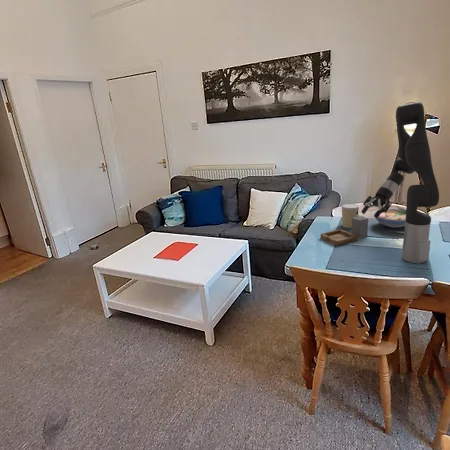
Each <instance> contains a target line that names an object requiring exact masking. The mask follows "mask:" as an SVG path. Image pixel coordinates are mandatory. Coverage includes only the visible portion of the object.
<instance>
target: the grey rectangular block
mask: <svg viewBox="0 0 450 450" xmlns="http://www.w3.org/2000/svg"><path fill="white" fill-rule="evenodd" d="M368 230H369V218H367V217H365V216H363V215H360V214H358V215H357V217H354V218H352V228H351V234H354V235H356V236H358V240H359V239H363V238H366V237H368Z"/></svg>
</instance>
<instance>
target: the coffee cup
mask: <svg viewBox="0 0 450 450" xmlns="http://www.w3.org/2000/svg"><path fill="white" fill-rule="evenodd" d="M359 209H360V206H359V205H358V204H356V203H345V204H343V205H341V223H342V227H343V228H347V229H352V218H354V217H357V215H359Z"/></svg>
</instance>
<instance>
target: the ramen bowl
mask: <svg viewBox="0 0 450 450" xmlns="http://www.w3.org/2000/svg"><path fill="white" fill-rule="evenodd" d="M378 210H379V208H378V209H374V211H373V212H372V214H373V216H374V215H375V213H376V212H377V211H378ZM375 220H377V222H378V223H380V224H381V225H383V226H385V227H386V226H387V227H388V228H392V229H399V228H400V229H401V228H402V227H404V228H405V221H406V208H402V207H400V206H398V205H396V206H395V207H390V208H389V209H388V211H387V212H386V213H385V212H383V213H381V214H380V216H379V217H377V218H375Z"/></svg>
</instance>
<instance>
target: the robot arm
mask: <svg viewBox="0 0 450 450" xmlns="http://www.w3.org/2000/svg"><path fill="white" fill-rule="evenodd" d="M425 115H426V114H425V107H424V105H423V103H422V102H420V101H417V102H416V101H415V102H411V103H406V104H401V105H399V106H398V107H397V108H396V110H395V123H396V133H397V139H398V140H397V141H398V148H397V149H398V153H397V155H398V158H397V159H396V160H395V162H394V164H393V167H392V170H391V172H390V174H389V175H388V176H387V178H386V180H385V181H384V182H383V183H382V184H381V185H380V187H379V188H378V189H377V191H376V192H375V195H374V196H373V197H372V196H371V195H369V196H368V197H366V199H365V200H364V202H362V205H363V206H364V207H363V208H362V209H361V213H362V214H363V215H365V214H366V213H367V211H369V209H370V208H373V207H377V208H378V209H379V210H378V211H377V212H376V213H375V215H374V214H373V217H374V218H375V219H376V218H377V217H379V216H380V214H381V213H383V212H385V213H386V212H387V211H388V209H389V208H391V206H392V202H391V201H390V200H391V199H392V197H393V195H395V193H396V192H397V190H398V188H399V187H400V185H401V184H402V182H404V180H405V179H404V178H405V177H404V175H402V174H401V173H400V172H402V173H404V174H408V175H412V174H413V173H414V172H415V173H416V174H417V175H418V176H419V177H420V178H421V180H422V182H423V184H412V185H410V186H409V187H408V188H407V192H406V207H405V209H406V221H405V226H404V232H403V239H402V240H403V241H402V252H401V259H402V260H403V261H405V262H408V263H412V264H417V265H419V263H420V264H422V262H423V263H426V262H428V261H429V255H430V248H431V247H430V246H431V240H430V238H429V236H430V231H431V230H430V229H431V225H432V216H431V215H429V214H428V213H424V212H421V211H419V210H418V208H432V207H437V205H438V204H439V202H440V191H439V186H438V184H437V183H438V182H437V180H436V176H435V173H434V168H433V162H432V155H431V148H430V143H429V139H428V134H427V128H426V127H427V126H426V117H425ZM414 124H415V125H416V126H415V129H414V130H413V133H412V134H411V135H410V134H409V133H408V132H407V131H406V129H405V126H410V125H414ZM425 261H426V262H425Z"/></svg>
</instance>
